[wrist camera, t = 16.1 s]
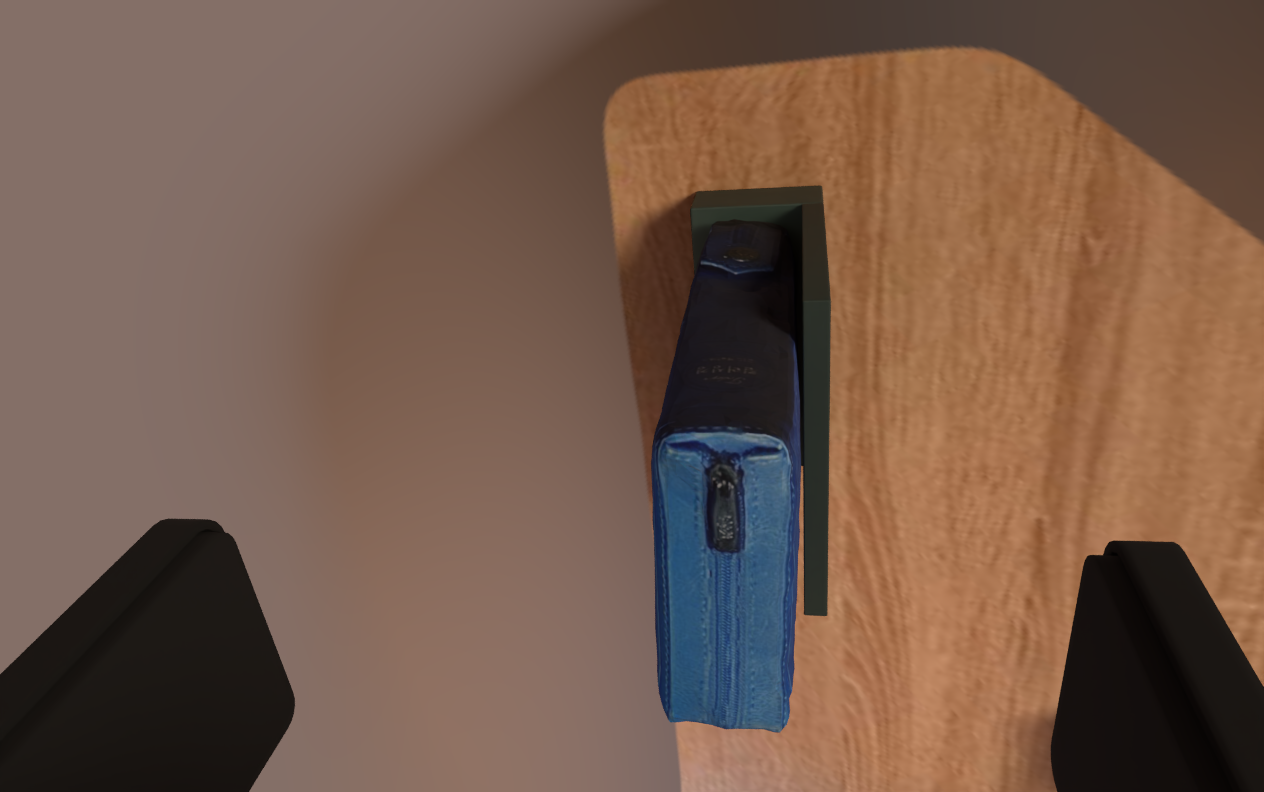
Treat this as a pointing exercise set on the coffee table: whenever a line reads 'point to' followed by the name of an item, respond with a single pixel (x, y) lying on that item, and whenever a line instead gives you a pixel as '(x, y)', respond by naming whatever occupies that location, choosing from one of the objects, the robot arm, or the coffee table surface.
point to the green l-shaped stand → (813, 306)
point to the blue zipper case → (730, 488)
